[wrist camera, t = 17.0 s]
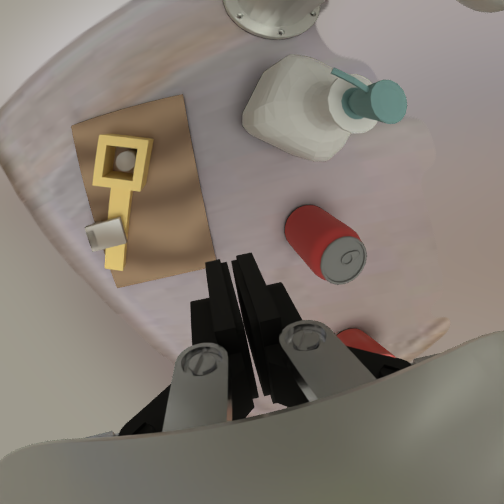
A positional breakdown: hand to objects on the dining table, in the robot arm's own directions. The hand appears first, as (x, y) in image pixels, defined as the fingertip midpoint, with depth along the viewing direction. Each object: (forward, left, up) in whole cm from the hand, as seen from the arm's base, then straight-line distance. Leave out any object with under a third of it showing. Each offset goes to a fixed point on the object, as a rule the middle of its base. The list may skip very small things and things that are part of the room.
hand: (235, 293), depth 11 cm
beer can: (+10, +13, -30) cm, 34 cm away
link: (+1, -10, -28) cm, 30 cm away
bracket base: (+1, -7, -29) cm, 30 cm away
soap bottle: (-6, +12, -30) cm, 32 cm away
